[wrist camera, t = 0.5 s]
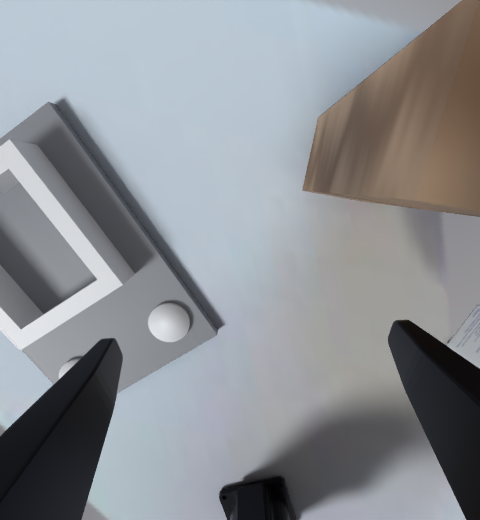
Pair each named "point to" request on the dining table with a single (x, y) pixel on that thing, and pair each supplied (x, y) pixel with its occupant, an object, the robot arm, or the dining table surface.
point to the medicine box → (468, 338)
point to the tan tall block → (410, 125)
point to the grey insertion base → (82, 261)
